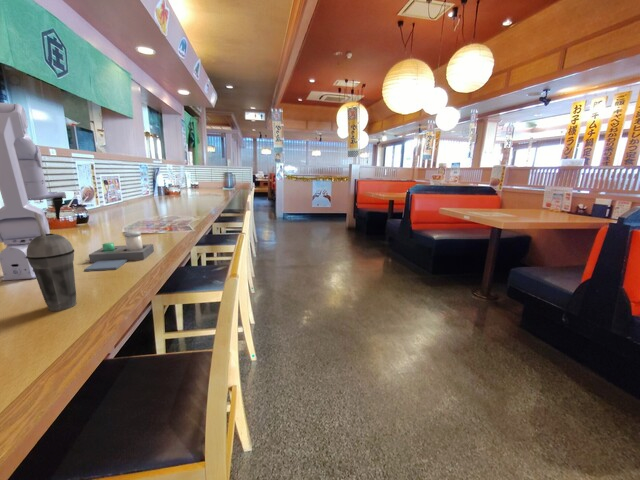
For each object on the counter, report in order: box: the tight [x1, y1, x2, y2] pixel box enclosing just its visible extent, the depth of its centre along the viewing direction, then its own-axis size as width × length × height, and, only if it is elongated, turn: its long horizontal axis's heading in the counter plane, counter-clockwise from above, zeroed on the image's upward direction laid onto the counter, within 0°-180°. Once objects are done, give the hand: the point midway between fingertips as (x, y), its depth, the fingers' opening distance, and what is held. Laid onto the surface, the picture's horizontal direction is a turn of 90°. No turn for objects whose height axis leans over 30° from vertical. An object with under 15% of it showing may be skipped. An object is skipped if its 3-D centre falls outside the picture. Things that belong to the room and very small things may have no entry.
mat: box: [84, 259, 129, 272], centre depth 87 cm, size 8×8×1 cm
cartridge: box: [123, 230, 143, 251], centre depth 96 cm, size 5×5×8 cm
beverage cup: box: [26, 213, 77, 312], centre depth 60 cm, size 7×7×20 cm
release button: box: [101, 242, 115, 251], centre depth 95 cm, size 3×3×3 cm
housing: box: [88, 243, 155, 264], centre depth 96 cm, size 10×15×2 cm, turn 103°
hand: (43, 220), depth 102 cm, fingers open, 7 cm apart
